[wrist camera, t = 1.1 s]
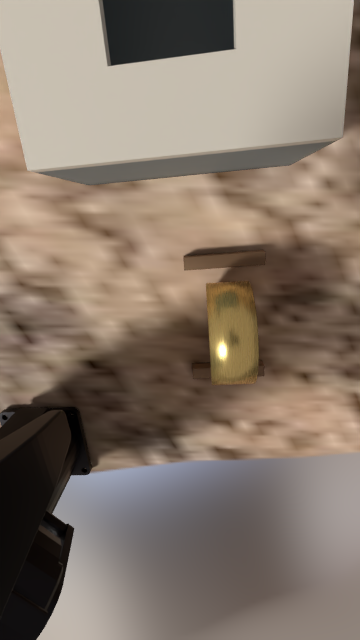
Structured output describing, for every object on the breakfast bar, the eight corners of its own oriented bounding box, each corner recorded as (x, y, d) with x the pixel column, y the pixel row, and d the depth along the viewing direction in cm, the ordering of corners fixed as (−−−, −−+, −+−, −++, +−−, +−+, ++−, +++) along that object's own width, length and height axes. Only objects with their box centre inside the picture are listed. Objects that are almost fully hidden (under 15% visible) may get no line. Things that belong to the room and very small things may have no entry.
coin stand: (262, 370, 22) (264, 375, 21) (193, 373, 23) (192, 378, 22) (262, 249, 19) (265, 251, 19) (184, 255, 20) (183, 257, 19)
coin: (243, 354, 22) (258, 405, 16) (210, 356, 22) (213, 406, 16) (242, 271, 20) (258, 296, 14) (205, 274, 20) (207, 299, 14)
